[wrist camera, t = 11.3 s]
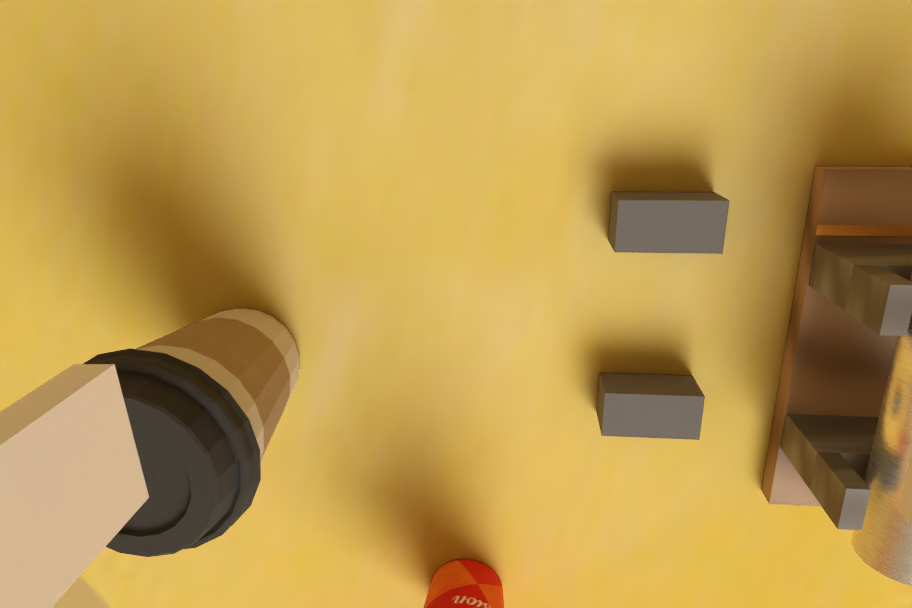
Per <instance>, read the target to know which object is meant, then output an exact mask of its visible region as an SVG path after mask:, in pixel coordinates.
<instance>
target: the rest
mask: <svg viewBox="0 0 912 608" xmlns="http://www.w3.org/2000/svg"><path fill="white" fill-rule="evenodd" d="M728 207H729V200H727V199H725V198H724V197H722V196H720V195H718V194H716V193H715V192H611V206H610V221H609V236H608V241H609V243H610V245H611V246H612V248H613V250H614V252H639V253H717V254H723V247H724V239H725V231H726V223H727V215H728ZM704 398H705V396H704V395H703V393H702V391H701V389H700V388H699V386H698V384H697V383H696V381H695V379H694V377H693V376H688V375H656V374H624V373H599V387H598V402H597V416H598V421H599V425H600V430H601V434H602V436H622V437H647V438H671V439H696V440H699V437H700V430H701V422H702V414H703V406H704Z"/></svg>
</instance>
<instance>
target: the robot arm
mask: <svg viewBox="0 0 912 608" xmlns="http://www.w3.org/2000/svg"><path fill="white" fill-rule="evenodd" d="M148 498H149V495H148V491H147V487H146V483H145V479H144V475H143V472H142V468H141V464H140V460H139V456H138V452H137V449H136V445H135V441H134V437H133V433H132V429H131V425H130V422H129V418H128V414H127V410H126V406H125V402H124V398H123V395H122V391H121V387H120V383H119V379H118V375H117V372H116V368H115V364H74V365H72V366H71V367H69V368H68V369H66V370H64V371H63V372H61V373H60V374H58V375H57V376H55V377H54V378H52V379H51V380H49V381H47V382H46V383H44V384H43V385H41V386H40V387H38V388H37V389H35V390H34V391H32V392H31V393H29V394H27V395H26V396H24V397H23V398H21V399H20V400H18V401H17V402H15V403H14V404H12V405H10V406H9V407H7V408H6V409H4V410H3V411H1V412H0V608H52V607H53V605H54V604H55V603H56V602H57V601H58V600H59V599H60V598H61V596H62V595H63V594H64V593H65V592H66V590H68V589H69V587H70V586H71V585H72V584H73V583H74V582H75V581H76V579H77V578H78V577H79V576H80V575H81V574H82V573H83V572H84V570H85V569H86V568H87V567H88V566H89V565H90V564H91V563H92V561H93V560H94V559H95V558H96V557H97V556H98V555H99V553H100V552H101V551H102V550H103V549H104V548H105V547H106V546H107V544H108V543H109V542H110V541H111V540H112V539H113V538H114V537H115V535H116V534H117V533H118V532H119V531H120V530H121V529H122V527H123V526H124V525H125V524H126V523H127V522H128V521H129V520H130V518H131V517H132V516H133V515H134V514H135V513H136V512H137V511H138V509H139V508H140V507H141V506H142V505H143V504H144V503H145V501H146V500H147V499H148ZM899 512H900V513H901V515H902V516H903V517H904V518H905V519H906V521H907V522H908V523H909V524H910V525H911V526H912V449H911V454H910V459H909V463H908V468H907V473H906V478H905V482H904V487H903V492H902V496H901V501H900V506H899Z"/></svg>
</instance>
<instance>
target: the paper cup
mask: <svg viewBox="0 0 912 608" xmlns="http://www.w3.org/2000/svg"><path fill="white" fill-rule="evenodd" d="M424 608H504V600H503V589H502V584H501V581H500V579H499V577H498V575H497V574H496V573H495V572H494V571H493V570H492V569H491V568H490V567H488V566H487V565H485V564H483V563H481V562H478V561H475V560H470V559H458V560H453V561H450V562H448V563H446V564H444V565H443V566H441V567H440V568H439V569H438V570H437V571H436V573H435V575H434V577H433V579H432V582H431V585H430V588H429V591H428V595H427V598H426V602H425V605H424Z"/></svg>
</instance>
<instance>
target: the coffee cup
mask: <svg viewBox="0 0 912 608" xmlns="http://www.w3.org/2000/svg"><path fill="white" fill-rule="evenodd" d="M84 364H115V368H116V372H117V375H118V379H119V383H120V387H121V391H122V395H123V398H124V402H125V406H126V410H127V414H128V418H129V422H130V425H131V429H132V433H133V437H134V441H135V445H136V449H137V452H138V456H139V460H140V464H141V468H142V472H143V475H144V479H145V483H146V487H147V491H148V495H149V498H148V499H147V500H146V501H145V503H144V504H143V505H142V506H141V507H140V508H139V509H138V511H137V512H136V513H135V514H134V515H133V516H132V517H131V518H130V520H129V521H128V522H127V523H126V524H125V525H124V526H123V527H122V529H121V530H120V531H119V532H118V533H117V534H116V535H115V537H114V538H113V539H112V540H111V541H110V542H109V543H108V544H107V546H106V547H108V548H110V549H112V550H115V551H117V552H120V553H125V554H132V555H138V556H145V557H151V556H159V555H167V554H174V553H176V552H178V551H180V550H182V549H188V548H196V547H198V546H200V545H202V544H204V543H206V542H208V541H210V540H213V539H215V538H217V537H219V536H221V535H222V534H224V533H225V532H226V530H227V529H228V528H229V527H230V526H232V525H233V524H234V523H235V522H236V521H237V520H238V519H239V517H240V516H241V515H242V514H243V513H244V512H245V511H246V510H247V509H248V508H249V507H250V506H251V503H252V501H253V498H254V495H255V493H256V490H257V488H258V485H259V482H260V461H261V459H262V457H263V455H264V453H265V450H266V448H267V446H268V444H269V442H270V439H271V437H272V435H273V433H274V431H275V429H276V426H277V424H278V422H279V420H280V418H281V415H282V413H283V411H284V409H285V407H286V404H287V402H288V400H289V398H290V396H291V394H292V391H293V389H294V387H295V384H296V381H297V379H298V376H299V351H298V348H297V345H296V342H295V339H294V338H293V336H292V335H291V334H290V332H289V331H288V329H287V328H286V326H284V325H283V324H282V323H281V322H279V321H278V320H277V319H276V318H275V317H273V316H271V315H269V314H267V313H264V312H262V311H260V310H255V309H247V308H240V309H232V310H226V311H221V312H218V313H216V314H214V315H211V316H209V317H207V318H205V319H202V320H200V321H198V322H196V323H193V324H191V325H189V326H187V327H184V328H182V329H180V330H178V331H175V332H173V333H171V334H168V335H166V336H164V337H162V338H159V339H157V340H155V341H153V342H150V343H148V344H146V345H144V346H141V347H139V348H137V349H126V350H120V351H115V352H109V353H104V354H99V355H97V356H95V357H93V358H92V359H90V360H89V361H87V362H85V363H84Z"/></svg>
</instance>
